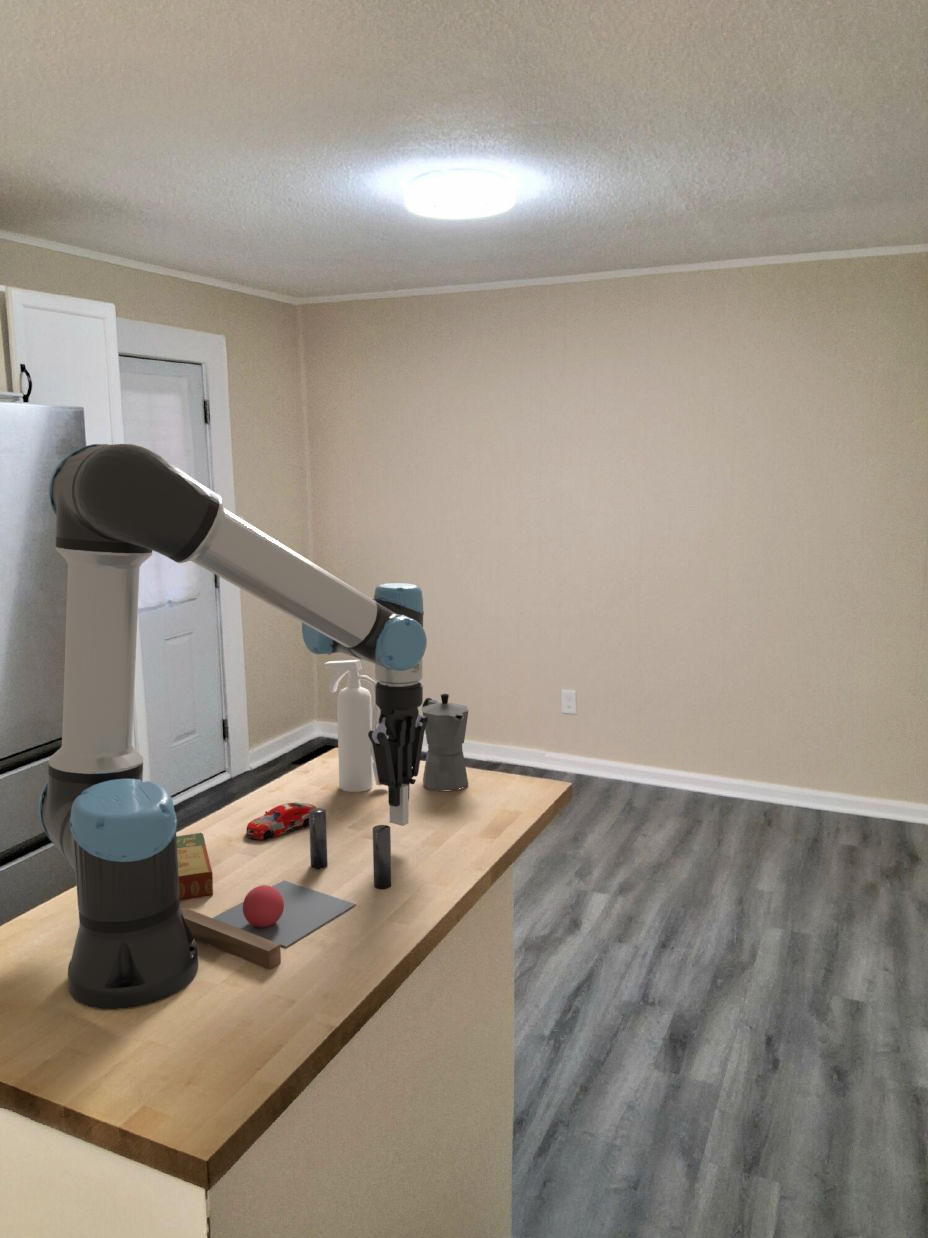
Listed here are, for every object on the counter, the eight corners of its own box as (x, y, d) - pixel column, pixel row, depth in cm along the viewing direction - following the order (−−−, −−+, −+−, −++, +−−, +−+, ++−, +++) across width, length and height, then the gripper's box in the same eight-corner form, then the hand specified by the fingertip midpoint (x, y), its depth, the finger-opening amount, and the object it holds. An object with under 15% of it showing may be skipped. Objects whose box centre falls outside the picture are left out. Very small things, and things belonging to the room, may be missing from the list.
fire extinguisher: (381, 796, 176) (375, 664, 173) (324, 790, 181) (318, 662, 177) (396, 785, 183) (391, 658, 179) (341, 780, 187) (335, 655, 184)
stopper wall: (269, 969, 117) (268, 951, 117) (173, 930, 127) (172, 913, 127) (280, 962, 119) (280, 944, 118) (185, 924, 129) (184, 907, 128)
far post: (319, 870, 145) (318, 815, 144) (307, 867, 147) (305, 812, 145) (331, 864, 147) (329, 810, 146) (318, 861, 149) (316, 806, 147)
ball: (256, 925, 123) (275, 885, 126) (227, 914, 126) (246, 875, 129) (280, 938, 127) (298, 899, 130) (251, 927, 130) (269, 889, 133)
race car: (256, 846, 156) (255, 823, 155) (240, 836, 160) (239, 813, 159) (323, 824, 164) (323, 803, 163) (307, 816, 168) (306, 794, 167)
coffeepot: (483, 789, 180) (483, 698, 177) (439, 798, 176) (438, 704, 173) (445, 767, 193) (445, 681, 190) (404, 774, 189) (402, 687, 186)
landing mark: (286, 948, 122) (286, 946, 122) (212, 919, 130) (212, 918, 130) (355, 905, 134) (355, 904, 134) (284, 881, 142) (284, 880, 141)
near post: (384, 891, 138) (382, 833, 137) (370, 886, 140) (369, 829, 138) (395, 884, 140) (393, 827, 139) (381, 880, 142) (380, 823, 140)
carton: (154, 908, 134) (152, 880, 134) (150, 863, 149) (148, 838, 149) (214, 898, 137) (213, 870, 137) (204, 855, 152) (203, 830, 151)
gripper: (392, 692, 142) (392, 841, 146) (441, 677, 153) (440, 815, 156) (354, 685, 146) (355, 830, 150) (404, 671, 157) (404, 806, 161)
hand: (399, 822), depth 153 cm, fingers closed
